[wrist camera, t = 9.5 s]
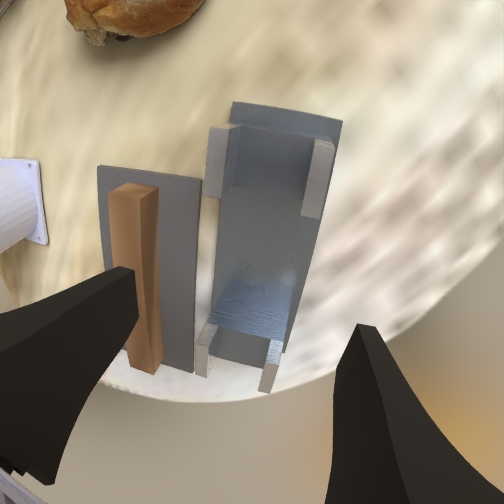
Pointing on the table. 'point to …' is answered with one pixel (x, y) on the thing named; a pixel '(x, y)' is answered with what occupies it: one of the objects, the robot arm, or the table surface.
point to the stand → (263, 229)
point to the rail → (139, 266)
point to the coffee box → (4, 6)
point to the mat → (165, 252)
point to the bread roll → (127, 17)
